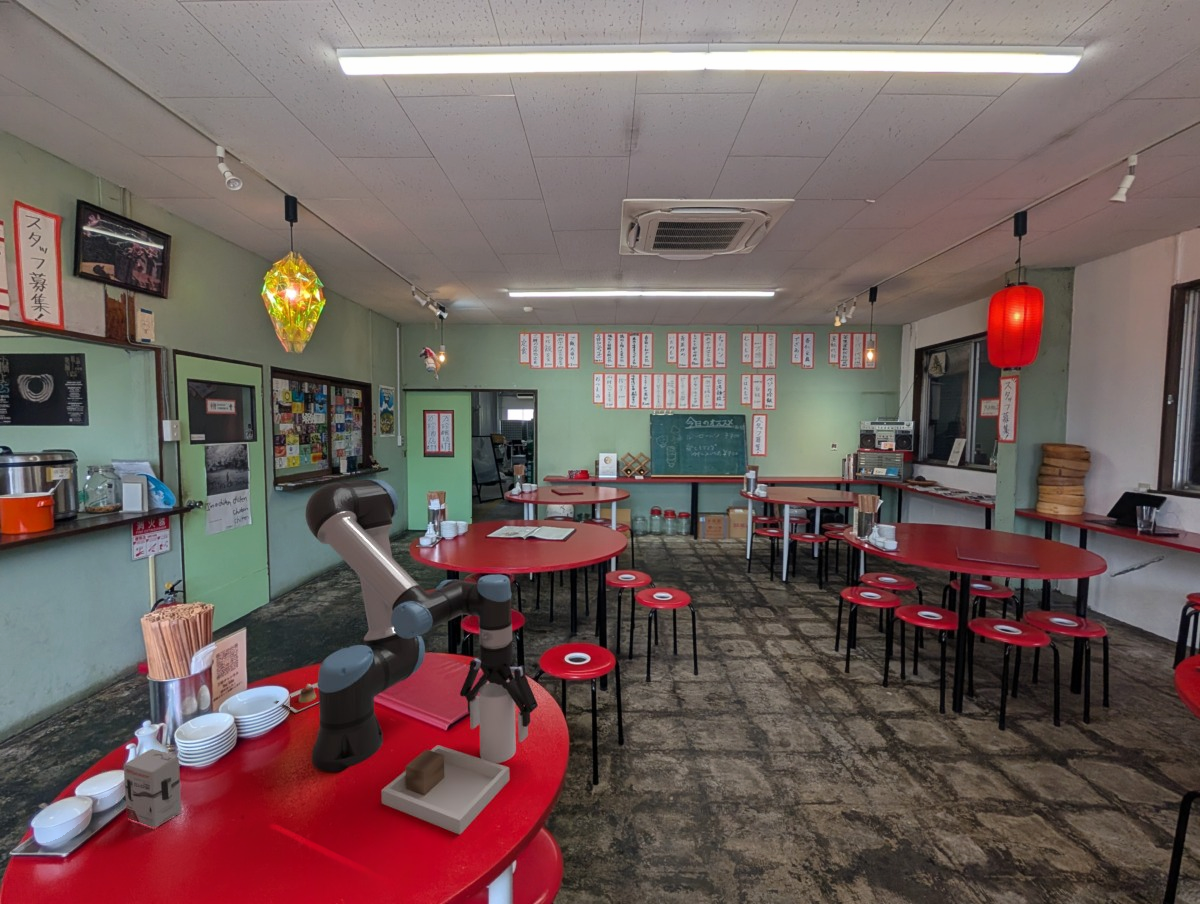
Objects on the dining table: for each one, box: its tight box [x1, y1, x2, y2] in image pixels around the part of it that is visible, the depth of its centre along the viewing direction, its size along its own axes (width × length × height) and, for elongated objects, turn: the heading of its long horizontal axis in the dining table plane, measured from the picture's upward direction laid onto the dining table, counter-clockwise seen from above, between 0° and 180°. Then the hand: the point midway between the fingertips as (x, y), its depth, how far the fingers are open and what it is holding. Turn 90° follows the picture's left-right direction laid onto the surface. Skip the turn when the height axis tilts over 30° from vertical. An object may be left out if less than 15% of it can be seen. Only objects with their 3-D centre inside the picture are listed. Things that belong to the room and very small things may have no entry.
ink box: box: [123, 748, 182, 828], centre depth 99 cm, size 8×5×12 cm, turn 72°
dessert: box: [289, 682, 319, 714], centre depth 143 cm, size 12×12×5 cm
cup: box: [478, 680, 517, 764], centre depth 116 cm, size 8×8×16 cm
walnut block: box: [405, 749, 444, 796], centre depth 106 cm, size 5×6×5 cm
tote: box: [381, 744, 510, 835], centre depth 104 cm, size 20×16×4 cm
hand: (498, 732), depth 116 cm, fingers open, 13 cm apart
